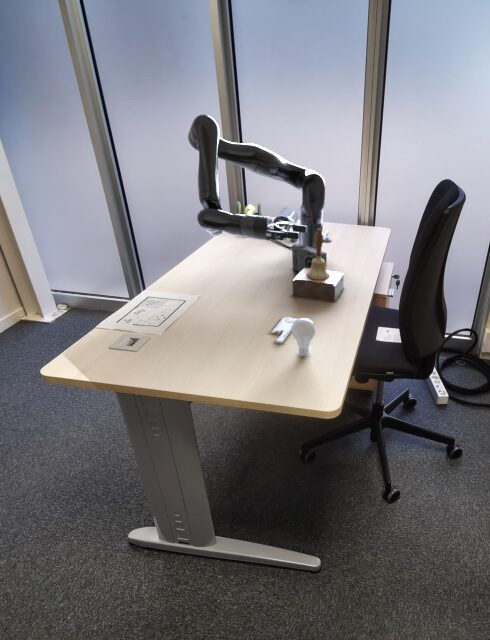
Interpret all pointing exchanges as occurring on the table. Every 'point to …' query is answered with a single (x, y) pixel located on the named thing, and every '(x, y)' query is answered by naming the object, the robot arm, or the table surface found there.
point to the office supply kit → (292, 219)
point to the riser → (318, 286)
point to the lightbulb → (303, 334)
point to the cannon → (249, 209)
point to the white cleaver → (284, 328)
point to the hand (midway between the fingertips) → (302, 232)
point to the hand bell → (318, 261)
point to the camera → (304, 256)
